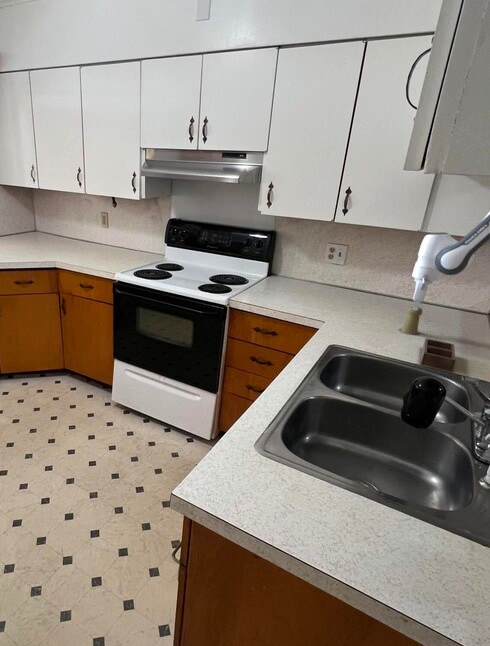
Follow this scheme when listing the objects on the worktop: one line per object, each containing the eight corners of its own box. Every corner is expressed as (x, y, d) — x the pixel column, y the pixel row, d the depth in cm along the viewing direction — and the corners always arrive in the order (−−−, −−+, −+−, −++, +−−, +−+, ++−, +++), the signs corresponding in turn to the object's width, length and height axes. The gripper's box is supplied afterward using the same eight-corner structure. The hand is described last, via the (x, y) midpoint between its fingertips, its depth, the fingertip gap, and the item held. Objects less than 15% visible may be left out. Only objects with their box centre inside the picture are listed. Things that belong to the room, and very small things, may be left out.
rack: (450, 355, 155) (454, 344, 153) (451, 372, 141) (455, 360, 139) (422, 349, 159) (425, 338, 157) (420, 365, 145) (424, 352, 143)
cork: (410, 329, 180) (417, 304, 175) (420, 335, 174) (428, 309, 170) (397, 329, 178) (404, 304, 174) (407, 335, 173) (414, 309, 169)
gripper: (434, 280, 157) (423, 315, 163) (434, 271, 174) (424, 303, 179) (415, 277, 160) (405, 311, 165) (417, 268, 177) (408, 300, 182)
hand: (415, 307), depth 172 cm, fingers open, 8 cm apart
